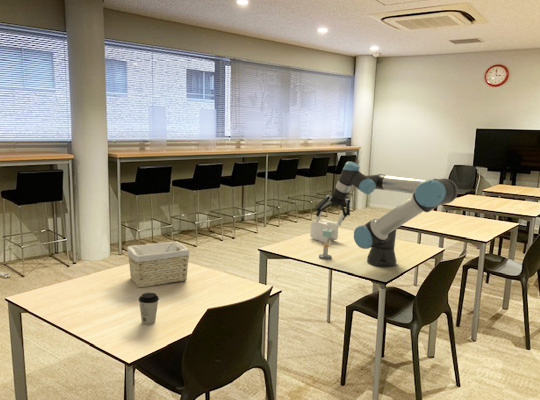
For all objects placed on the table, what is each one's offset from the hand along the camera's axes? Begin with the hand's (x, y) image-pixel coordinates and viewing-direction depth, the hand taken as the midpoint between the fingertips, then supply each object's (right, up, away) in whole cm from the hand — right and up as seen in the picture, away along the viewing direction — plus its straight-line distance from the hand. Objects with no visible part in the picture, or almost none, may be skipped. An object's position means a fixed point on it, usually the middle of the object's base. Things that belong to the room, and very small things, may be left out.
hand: (327, 222), depth 263 cm
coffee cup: (-74, -31, -93) cm, 123 cm away
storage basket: (-81, -23, -50) cm, 98 cm away
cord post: (-2, -19, -4) cm, 19 cm away
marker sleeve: (-1, -7, -6) cm, 9 cm away
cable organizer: (+2, -12, +34) cm, 37 cm away
